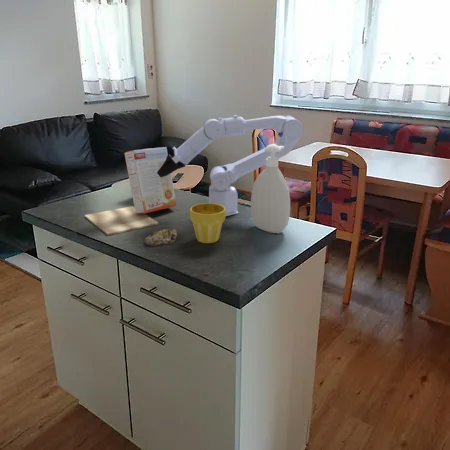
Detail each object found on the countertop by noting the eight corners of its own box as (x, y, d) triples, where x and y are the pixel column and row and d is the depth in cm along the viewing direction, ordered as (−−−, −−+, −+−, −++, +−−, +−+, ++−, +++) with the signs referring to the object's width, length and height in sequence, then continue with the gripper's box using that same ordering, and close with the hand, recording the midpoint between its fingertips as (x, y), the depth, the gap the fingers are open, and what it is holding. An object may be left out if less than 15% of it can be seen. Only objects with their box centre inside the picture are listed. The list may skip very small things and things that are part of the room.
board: (132, 207, 162) (131, 206, 162) (158, 224, 147) (158, 222, 147) (85, 216, 153) (84, 215, 153) (107, 235, 138) (107, 233, 137)
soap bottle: (296, 231, 142) (303, 145, 133) (281, 238, 137) (286, 149, 127) (260, 220, 152) (263, 138, 142) (244, 226, 146) (247, 142, 137)
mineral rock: (165, 225, 141) (180, 225, 135) (168, 238, 141) (184, 239, 135) (135, 235, 134) (150, 235, 128) (139, 249, 135) (154, 250, 129)
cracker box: (166, 207, 164) (157, 148, 161) (177, 206, 159) (167, 146, 157) (134, 214, 154) (123, 151, 151) (144, 213, 150) (133, 149, 147)
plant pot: (213, 248, 129) (214, 216, 126) (183, 241, 134) (182, 210, 131) (231, 237, 138) (231, 206, 134) (202, 230, 143) (202, 200, 139)
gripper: (187, 137, 155) (158, 164, 158) (180, 137, 141) (148, 166, 144) (201, 153, 156) (171, 179, 158) (195, 155, 142) (163, 183, 144)
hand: (161, 174), depth 151 cm, fingers open, 7 cm apart
